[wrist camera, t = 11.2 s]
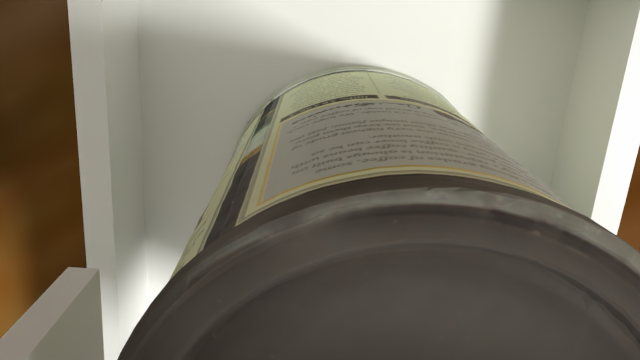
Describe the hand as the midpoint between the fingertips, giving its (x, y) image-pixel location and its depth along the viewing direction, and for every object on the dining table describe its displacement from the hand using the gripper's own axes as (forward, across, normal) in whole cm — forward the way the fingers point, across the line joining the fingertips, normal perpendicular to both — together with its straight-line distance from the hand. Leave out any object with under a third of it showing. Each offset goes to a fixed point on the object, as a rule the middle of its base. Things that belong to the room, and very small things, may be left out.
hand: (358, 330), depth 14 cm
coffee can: (+9, 0, -1) cm, 9 cm away
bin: (+10, 0, -1) cm, 10 cm away
